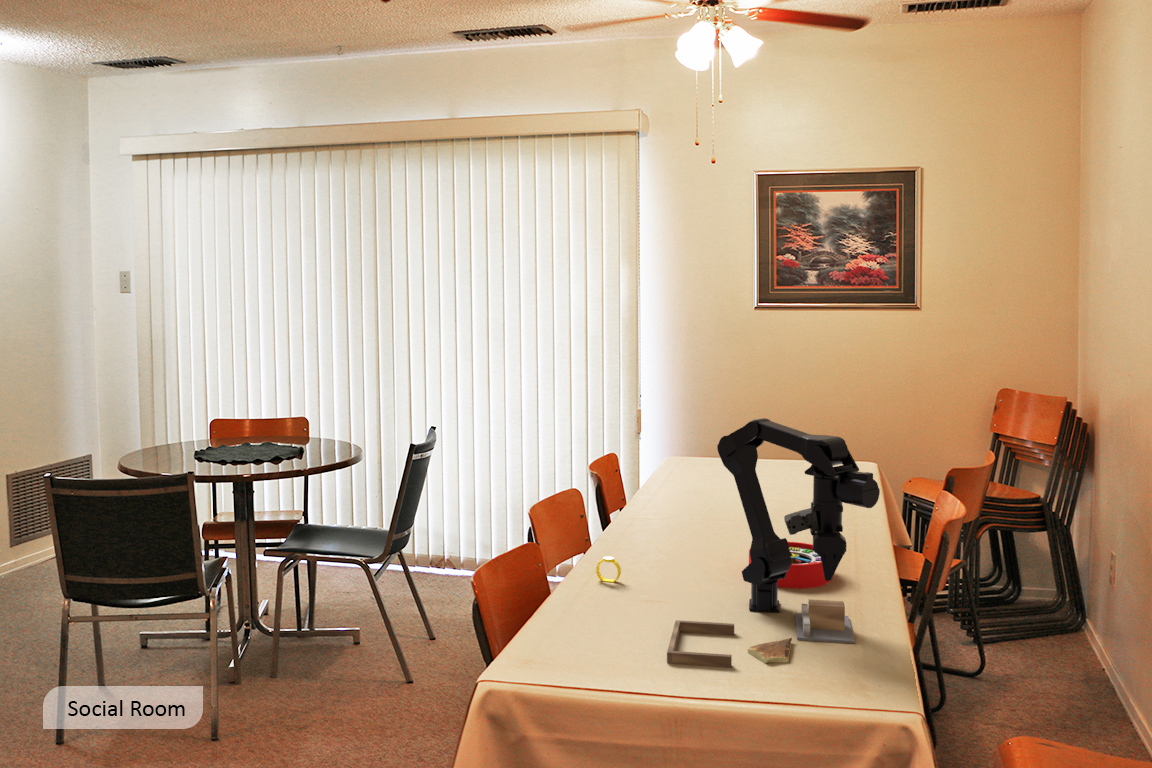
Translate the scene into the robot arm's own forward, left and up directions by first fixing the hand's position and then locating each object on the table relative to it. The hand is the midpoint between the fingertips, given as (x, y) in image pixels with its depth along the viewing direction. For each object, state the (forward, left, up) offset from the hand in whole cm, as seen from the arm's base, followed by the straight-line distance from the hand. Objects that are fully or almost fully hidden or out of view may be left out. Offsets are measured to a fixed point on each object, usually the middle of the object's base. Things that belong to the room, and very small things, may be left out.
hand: (826, 573), depth 184 cm
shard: (+14, -11, -13) cm, 22 cm away
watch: (-23, -49, -12) cm, 56 cm away
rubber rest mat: (0, 0, -12) cm, 12 cm away
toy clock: (-35, -6, -12) cm, 37 cm away
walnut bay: (+14, -24, -12) cm, 30 cm away
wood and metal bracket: (0, 0, -11) cm, 11 cm away
